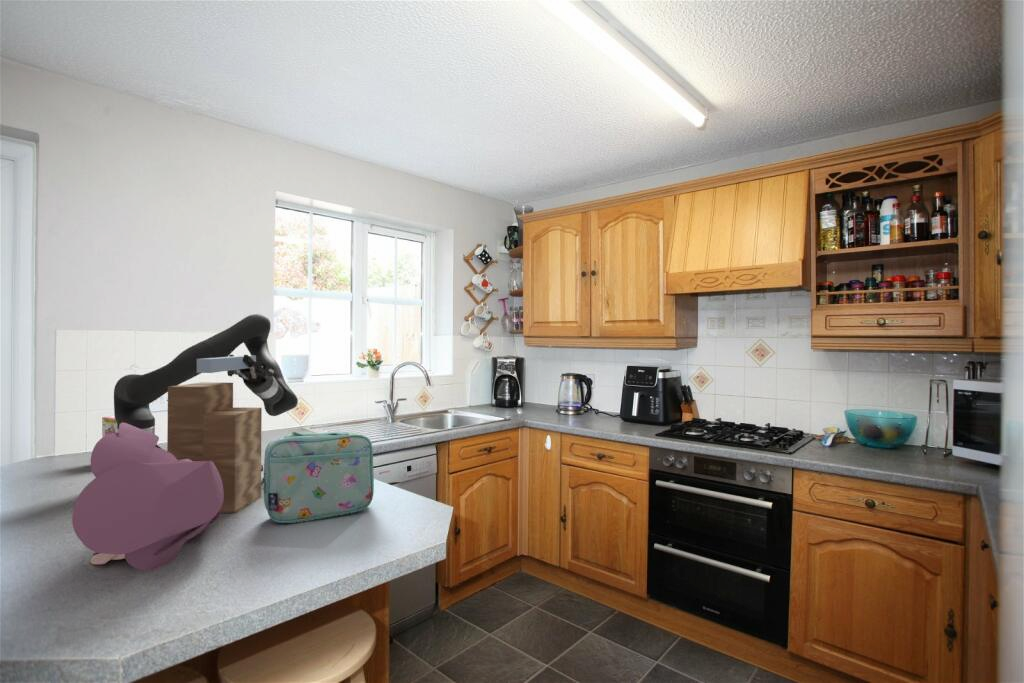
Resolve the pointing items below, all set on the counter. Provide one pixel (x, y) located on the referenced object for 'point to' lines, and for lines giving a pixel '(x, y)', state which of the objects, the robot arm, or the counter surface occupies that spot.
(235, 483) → the stand
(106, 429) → the candy bar box
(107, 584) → the counter surface
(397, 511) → the counter surface
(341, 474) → the lunch box
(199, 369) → the rail
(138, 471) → the mauve lumpy blob
